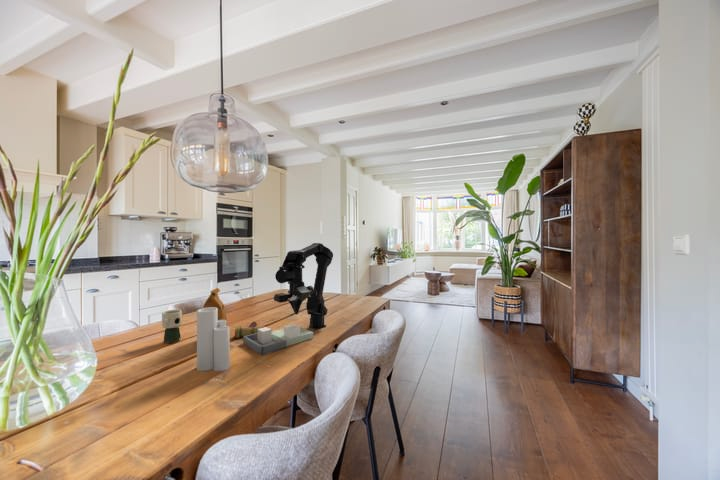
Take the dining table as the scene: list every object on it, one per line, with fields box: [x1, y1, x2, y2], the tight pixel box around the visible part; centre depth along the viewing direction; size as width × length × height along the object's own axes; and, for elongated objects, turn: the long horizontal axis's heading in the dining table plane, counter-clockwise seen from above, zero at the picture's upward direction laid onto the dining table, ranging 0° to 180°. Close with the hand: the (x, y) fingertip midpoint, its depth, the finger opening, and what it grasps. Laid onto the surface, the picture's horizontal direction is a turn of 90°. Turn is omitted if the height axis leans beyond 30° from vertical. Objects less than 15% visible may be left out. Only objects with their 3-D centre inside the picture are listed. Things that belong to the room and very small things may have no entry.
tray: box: [242, 333, 288, 356], centre depth 121 cm, size 11×17×3 cm, turn 44°
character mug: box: [161, 309, 183, 344], centre depth 126 cm, size 11×7×13 cm, turn 9°
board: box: [272, 326, 314, 347], centre depth 130 cm, size 14×14×2 cm
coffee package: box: [202, 287, 227, 324], centre depth 128 cm, size 10×12×22 cm
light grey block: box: [283, 323, 301, 339], centre depth 126 cm, size 5×5×4 cm
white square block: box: [258, 326, 272, 343], centre depth 125 cm, size 5×5×4 cm
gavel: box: [234, 321, 260, 339], centre depth 141 cm, size 21×5×10 cm
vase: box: [196, 307, 231, 372], centre depth 102 cm, size 11×7×20 cm, turn 89°
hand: (296, 314), depth 130 cm, fingers closed
